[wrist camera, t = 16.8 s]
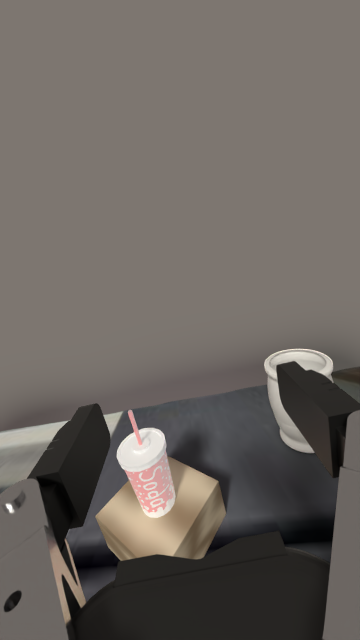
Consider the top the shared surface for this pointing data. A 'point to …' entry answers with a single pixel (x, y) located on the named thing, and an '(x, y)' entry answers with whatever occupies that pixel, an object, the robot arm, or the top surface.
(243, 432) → the top surface
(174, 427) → the top surface
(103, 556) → the top surface
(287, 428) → the jar
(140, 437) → the beverage cup
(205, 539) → the wooden riser
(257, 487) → the top surface
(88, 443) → the robot arm
